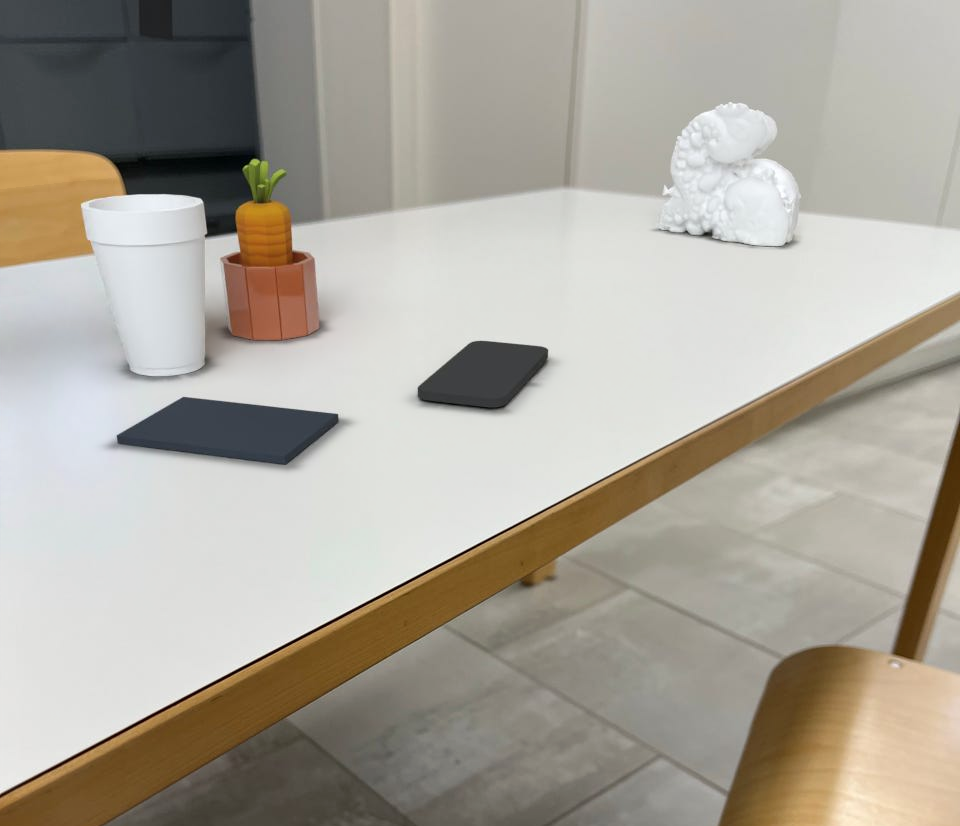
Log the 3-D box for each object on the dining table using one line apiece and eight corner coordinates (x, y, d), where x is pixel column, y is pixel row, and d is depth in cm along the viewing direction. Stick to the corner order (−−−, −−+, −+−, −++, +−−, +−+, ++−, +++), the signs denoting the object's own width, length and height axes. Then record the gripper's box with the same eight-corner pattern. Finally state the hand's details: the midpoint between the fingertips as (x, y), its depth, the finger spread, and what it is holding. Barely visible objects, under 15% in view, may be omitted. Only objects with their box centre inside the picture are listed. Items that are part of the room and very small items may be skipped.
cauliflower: (837, 178, 126) (712, 76, 126) (731, 311, 137) (617, 218, 138) (851, 169, 141) (740, 78, 141) (754, 289, 153) (652, 205, 153)
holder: (212, 336, 96) (203, 264, 93) (255, 314, 103) (248, 246, 100) (294, 343, 94) (287, 270, 91) (332, 320, 101) (327, 251, 98)
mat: (117, 443, 72) (116, 435, 72) (184, 404, 79) (183, 396, 79) (285, 464, 69) (284, 456, 69) (338, 421, 76) (338, 413, 76)
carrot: (271, 319, 102) (254, 153, 94) (310, 326, 99) (297, 156, 92) (237, 330, 98) (216, 158, 90) (276, 337, 96) (259, 162, 88)
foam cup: (90, 364, 88) (59, 202, 81) (185, 344, 94) (164, 190, 87) (146, 389, 82) (117, 217, 76) (244, 366, 88) (225, 204, 81)
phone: (412, 390, 80) (472, 339, 92) (412, 400, 80) (472, 348, 92) (502, 400, 78) (552, 347, 90) (502, 411, 78) (551, 356, 91)
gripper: (230, -393, 66) (230, -20, 72) (191, -213, 88) (194, 60, 94) (106, -432, 63) (117, -42, 69) (99, -237, 86) (107, 46, 91)
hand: (161, 18), depth 82 cm, fingers open, 13 cm apart
